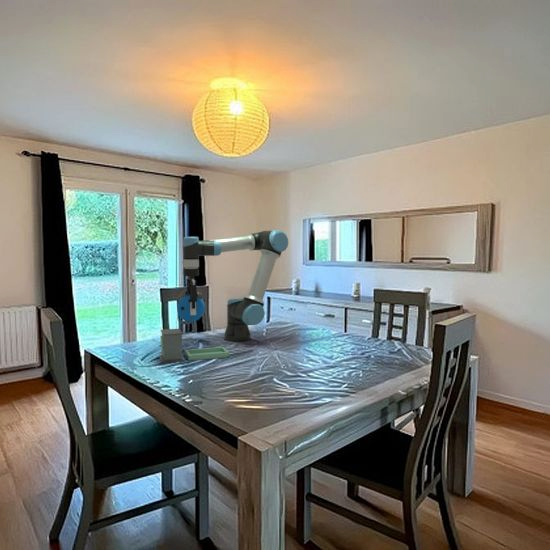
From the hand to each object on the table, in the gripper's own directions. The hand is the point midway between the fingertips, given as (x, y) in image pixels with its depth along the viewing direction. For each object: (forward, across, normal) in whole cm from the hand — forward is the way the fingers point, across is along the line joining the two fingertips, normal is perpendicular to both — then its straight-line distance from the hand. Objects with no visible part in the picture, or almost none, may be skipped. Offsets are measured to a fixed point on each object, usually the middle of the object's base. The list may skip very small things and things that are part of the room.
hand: (191, 313), depth 204 cm
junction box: (+19, +12, -12) cm, 25 cm away
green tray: (+19, +12, +5) cm, 23 cm away
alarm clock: (+4, 0, 0) cm, 4 cm away
